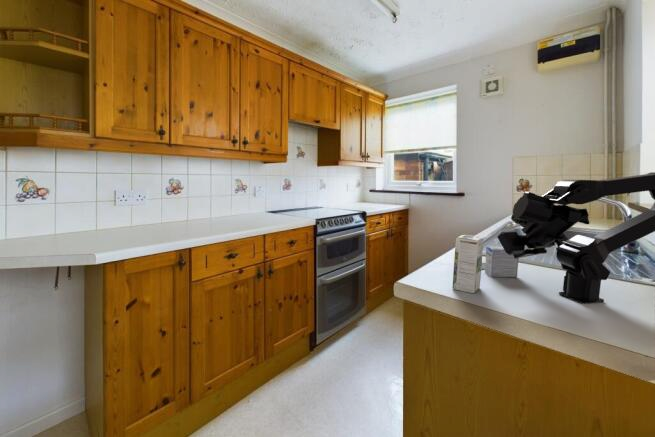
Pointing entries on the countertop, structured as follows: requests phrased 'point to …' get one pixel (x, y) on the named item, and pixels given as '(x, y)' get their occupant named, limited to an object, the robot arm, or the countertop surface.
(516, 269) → the medicine box
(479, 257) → the syrup box
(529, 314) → the countertop surface
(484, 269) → the mat
